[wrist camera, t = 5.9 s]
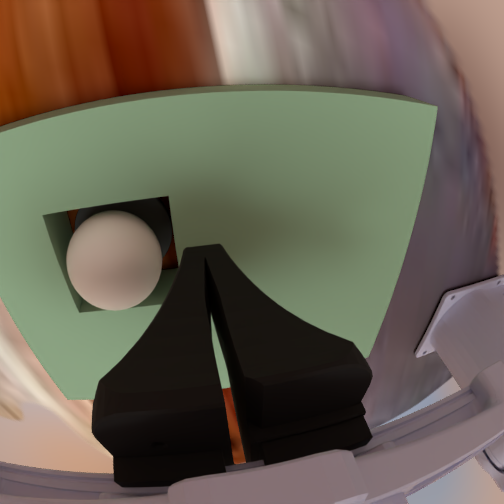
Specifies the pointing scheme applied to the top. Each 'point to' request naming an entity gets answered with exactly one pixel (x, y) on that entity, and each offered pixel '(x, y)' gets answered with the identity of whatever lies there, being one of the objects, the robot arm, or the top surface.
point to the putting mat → (213, 206)
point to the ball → (114, 260)
